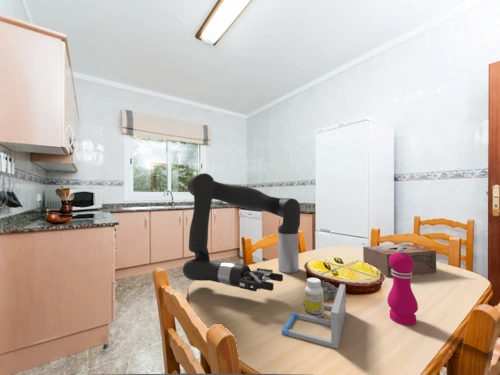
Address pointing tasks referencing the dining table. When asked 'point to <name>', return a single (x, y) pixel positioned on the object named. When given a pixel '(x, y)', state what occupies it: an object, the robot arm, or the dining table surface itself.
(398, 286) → the pepper mill
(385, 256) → the tissue box cover
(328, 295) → the egg carton
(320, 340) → the grey panel rail frame
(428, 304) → the dining table surface
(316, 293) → the supplement bottle
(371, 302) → the dining table surface
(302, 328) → the dining table surface
